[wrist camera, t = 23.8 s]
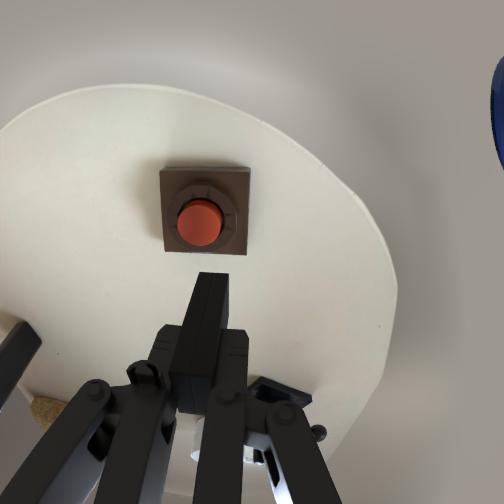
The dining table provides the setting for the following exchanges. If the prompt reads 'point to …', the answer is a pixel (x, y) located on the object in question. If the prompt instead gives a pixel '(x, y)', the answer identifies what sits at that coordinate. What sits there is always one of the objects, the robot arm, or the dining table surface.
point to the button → (200, 222)
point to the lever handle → (319, 432)
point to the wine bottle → (16, 357)
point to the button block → (215, 191)
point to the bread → (46, 411)
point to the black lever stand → (275, 400)
